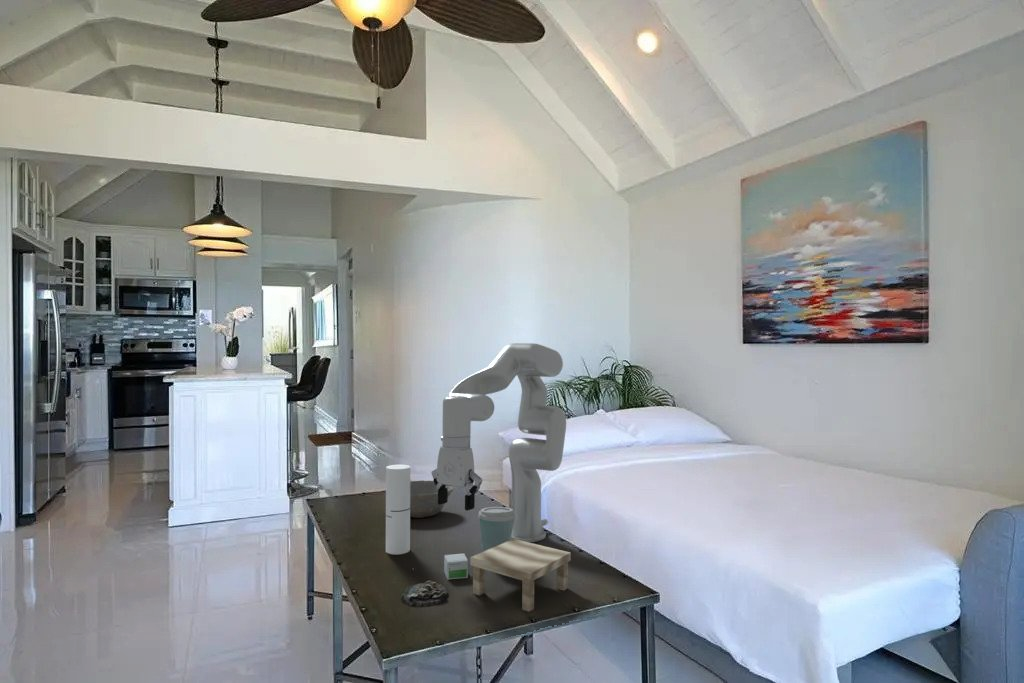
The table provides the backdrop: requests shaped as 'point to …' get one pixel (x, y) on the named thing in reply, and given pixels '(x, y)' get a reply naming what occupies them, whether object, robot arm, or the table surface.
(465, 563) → the small box
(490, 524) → the disposable coffee cup
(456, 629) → the table surface
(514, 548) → the footstool
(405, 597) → the dark grey rock
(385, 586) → the table surface
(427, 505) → the ceramic bowl
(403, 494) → the cylindrical container
